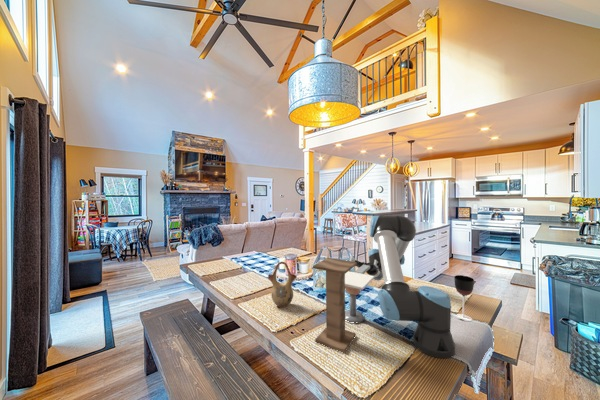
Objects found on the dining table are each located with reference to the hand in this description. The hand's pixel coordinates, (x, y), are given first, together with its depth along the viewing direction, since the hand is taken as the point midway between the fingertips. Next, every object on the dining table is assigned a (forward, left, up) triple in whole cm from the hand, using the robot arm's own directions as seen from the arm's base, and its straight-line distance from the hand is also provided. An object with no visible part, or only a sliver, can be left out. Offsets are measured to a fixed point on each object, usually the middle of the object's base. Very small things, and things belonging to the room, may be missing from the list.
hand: (362, 260), depth 133 cm
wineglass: (-41, -26, -26) cm, 55 cm away
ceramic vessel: (+31, +32, -26) cm, 51 cm away
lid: (-3, +10, -6) cm, 12 cm away
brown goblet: (-4, +15, -26) cm, 30 cm away
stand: (-9, +34, -26) cm, 44 cm away
